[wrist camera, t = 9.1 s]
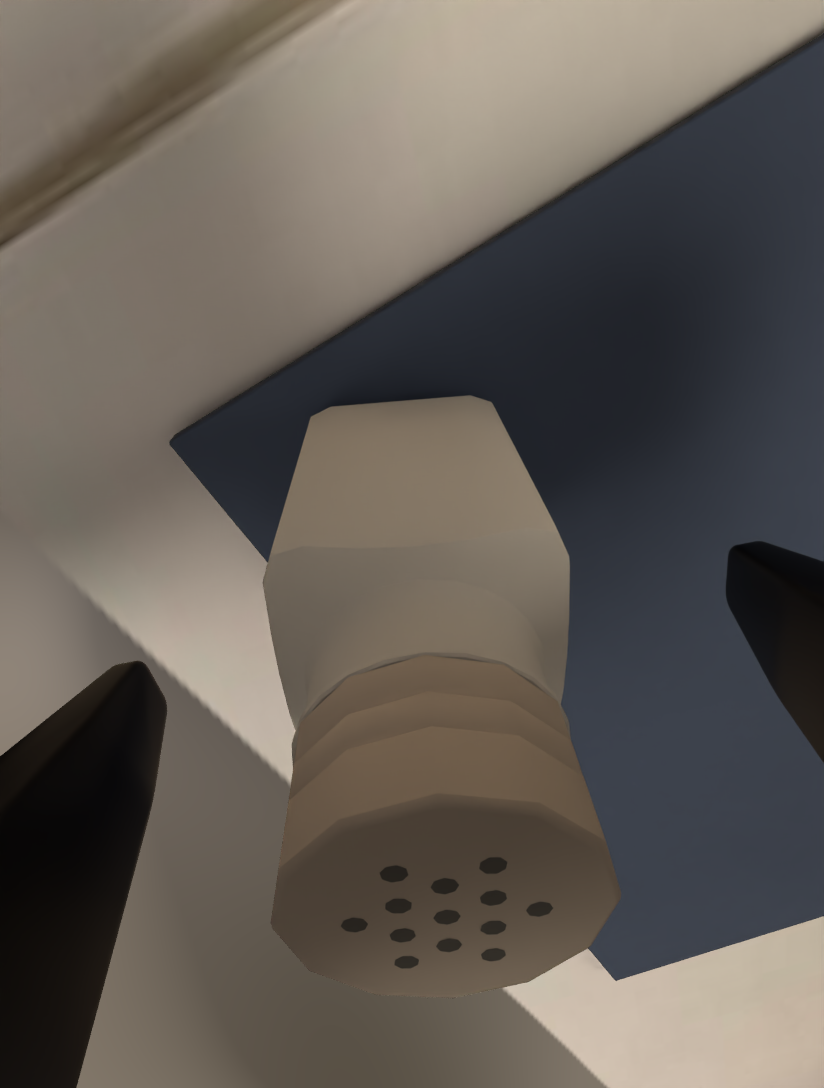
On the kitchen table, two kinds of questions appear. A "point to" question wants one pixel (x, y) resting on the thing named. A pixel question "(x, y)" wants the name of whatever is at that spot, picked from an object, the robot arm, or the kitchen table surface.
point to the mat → (635, 482)
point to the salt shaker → (428, 710)
